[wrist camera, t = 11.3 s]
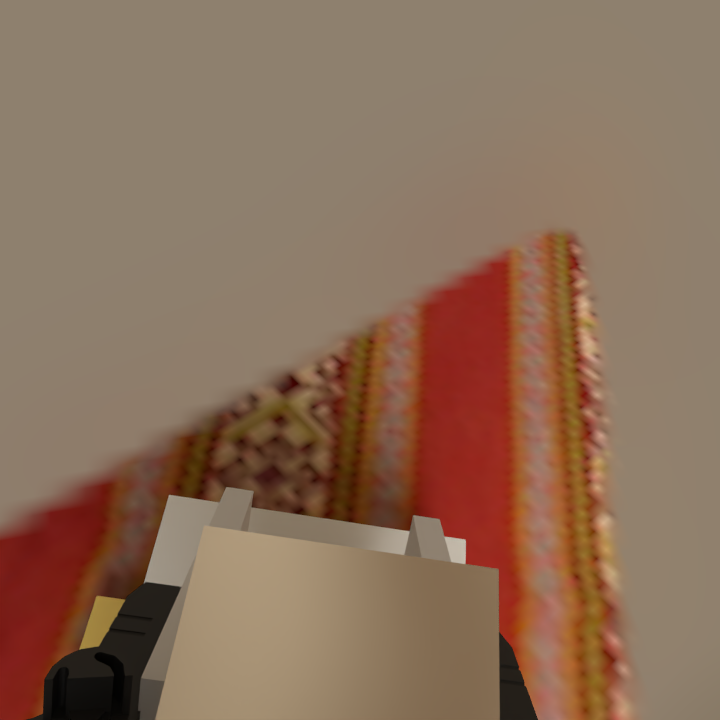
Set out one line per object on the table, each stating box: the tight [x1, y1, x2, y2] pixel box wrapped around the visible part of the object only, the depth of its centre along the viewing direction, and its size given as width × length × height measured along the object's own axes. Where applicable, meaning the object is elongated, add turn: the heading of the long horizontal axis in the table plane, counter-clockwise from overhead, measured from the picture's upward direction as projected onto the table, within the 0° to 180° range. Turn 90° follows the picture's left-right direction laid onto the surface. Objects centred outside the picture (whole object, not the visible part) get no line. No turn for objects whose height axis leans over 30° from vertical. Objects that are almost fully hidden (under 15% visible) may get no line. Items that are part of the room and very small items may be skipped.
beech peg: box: [155, 525, 500, 720], centre depth 12 cm, size 4×4×11 cm
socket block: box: [79, 495, 466, 650], centre depth 18 cm, size 12×10×4 cm
